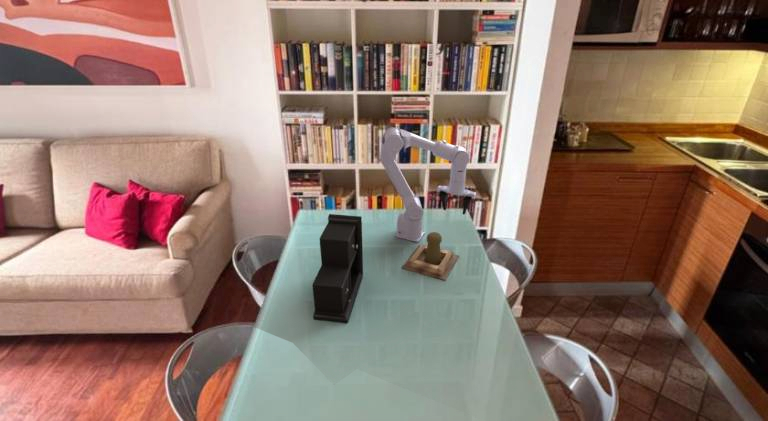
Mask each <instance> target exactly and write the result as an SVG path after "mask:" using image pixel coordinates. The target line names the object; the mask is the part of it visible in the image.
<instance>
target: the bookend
mask: <svg viewBox="0 0 768 421" xmlns="http://www.w3.org/2000/svg"><path fill="white" fill-rule="evenodd" d="M362 222H363V221H362V216H361V215H360V216H359V215H346V214H335V213H332V214H331V213H329V214H328V217H327V223H326V225H325V227H324V230H323V231H322V233H321V235H320V237H319V249H320V250H319V251H320V260H321V262H320V263H321V266H320V268H319V270H318V271H317V274H316V276H315V278H314V280H313V282H312V294H313V295H312V296H313V302H314V305H313V306H314V312H313V314H312V316H313V318H312V319H313V320H315V321H323V322H325V321H326V322H334V323H341V324H348V323H349V321H350V319H351V318H350V317H351V314H352V311H353V308H354V307H355V306H354V305H355V302H356V298H357V295H358V293H359V289H360V286H361V284H362V280H363V277H364V260H363V259H364V257H363V252H364V251H363V223H362Z"/></svg>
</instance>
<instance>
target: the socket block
mask: <svg viewBox="0 0 768 421" xmlns="http://www.w3.org/2000/svg"><path fill="white" fill-rule="evenodd" d="M427 245H428V244H422V243H421V245H420V244H418V245H417V246H416V248H415V249H414V251H413V252H412V253H411V255H410V256H409V257H408V259H406V261H405V262H404V263H403V265H402V266H401V269H403V270H407V271H409V272H414V273H418V274H421V275H423V276H428V277H431V278H435V279H437V280H442V281H447V279H448V277H449V275H450V274H451V271H452V270H453V268H454V266H455V264H456V263H457V261H458V259H459V258H460V254H459V255H458V254H456V253H454V252H453V251H450V250H446V249H442V248H440V251H441V263H440V264H438V265H433V264H429V263H426V262H425V261H424V260H425V255H426V250H427Z"/></svg>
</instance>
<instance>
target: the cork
mask: <svg viewBox="0 0 768 421" xmlns="http://www.w3.org/2000/svg"><path fill="white" fill-rule="evenodd" d="M442 240H443V237H442V235H441V234H440V233H439V232H437V231H433V232H432V231H431V232H429V233H428V234H427V236H426V241H427V244H426V245H427V250H426V255H425V260H424V261H425V262H426V263H429V264H433V265H438V264H440V263H441V251H440V249H441V244H442Z"/></svg>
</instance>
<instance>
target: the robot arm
mask: <svg viewBox="0 0 768 421" xmlns="http://www.w3.org/2000/svg"><path fill="white" fill-rule="evenodd" d="M411 146H412V147H415V148H419V149H423V150H425V151H426V150H427V151H429V152H431V153H432V155H433V156H434V157H436V158H440V159H443V160H446V161H448V162H451V163H450V164H451V165H450V171H449V172H450V173H449V174H450V175H449V185H438V187H437V193H439V194H438V198H440V201H441V204H442V207H443V208H442V209H443V211H446V210H447V208H448V198H449V194H451V195H453V196H461V197H464V198H463V208H462V215H466V213H467V209H468V206H469V205H470V203H471V201H472V199H473V200H475V199H476V196H477V192H475V191H471V190H469V189H466V187H465V186H466V177H467V166H468V164H469V163H470V160H471V159H470V155H469V153H468V152H467V150H466V148H465V147H463V146H462V145H457V144H455V145H453V144H450V143H448V142H447V141H446V140H444V139H442V140H437V141H432V140H429V139H427V138H424V137H423V136H421V135H420V136H419V135H417V134H415V133H412V132H410V131H407V130H405V129H401V128H400V129H399V128H398V127H393V126H392V127H388V128H386V129H385V131H384V133H383V135H382V136H381V145H380V153H379V154H380V155H379V159H380V162H381V165H382V166H383V168H384V169H385V171H386V172H385V173H386V174H387V175H388V177H389V179H390V180H391V182H392V184H393V186H394V188H395V189H396V191H397V193H398V194H399V197H400V198H401V200H402V203H403V205H404V208H405V211H404V212H400V213H399V215H398V217H397V222H396V235H395V237H396V238H400V239H404V240H407V241H410V242H411V241H412V242H415V243H419V242H420V240H421V239H422V237H423V236H424V235H425V234H426V231H423V216H424V209H423V208H422V204H421V200H420V198H419V196H416V194H414V192H413V190H412V189H411V187H410V185H409V184H408V183H409V182H407V180H406V178H405V175H403V174H404V173H402V170H401V169H400V167H399V164H398V162H397V161H396V160H395V158H396V156H397V155H398V154H399V152H400V151H401V150H402V149H407V148H409V147H411Z"/></svg>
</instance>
